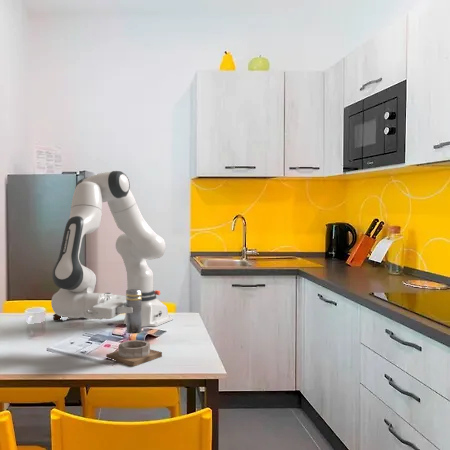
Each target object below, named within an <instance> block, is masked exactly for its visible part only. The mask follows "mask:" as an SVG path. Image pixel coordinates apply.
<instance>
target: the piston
mask: <svg viewBox="0 0 450 450" xmlns="http://www.w3.org/2000/svg"><path fill="white" fill-rule="evenodd" d="M125 296H126V307H133V308H134V312H132V313H125V315H126V320H127V325H126V333H127V334H131V335H132V334H140V333H142V331H143V330H142V329H143V328H142V290H141V289H129V290H126V291H125Z"/></svg>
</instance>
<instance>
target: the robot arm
mask: <svg viewBox="0 0 450 450" xmlns="http://www.w3.org/2000/svg"><path fill="white" fill-rule="evenodd" d="M130 188H131V185H130V180H129V177H128V176H127V174H125V173H124V172H123V171H120V170H112V171H109V172H101V173H100V172H99V173H97V174H94V175H90V176H89V177H83V178H81V179H80V180H78V181H77V182H76V184H75V189H74V192H73V195H72V199H71V205H70V206H71V207H70V215H69V218H68V220H67V222H66V224H65V228H64V232H63V236H62V242H61V245H60V251H59V255H58V258H57V260H56V262H55V265H53V266H54V267H53V269H52V272H51V274H52V275H51V276H52V281H53V283H54V285H55V286H56V287H58V288H59V290H58V291H57V292H55V293H53V295H52V297H51V300H50V301H51V308H52V311H53V312H54V314H57V315H59V316H62V317H68V318H72V319H73V318H74V319H79V318H80V317H84V319H85V318H87V319H86V320H103V319H104V320H110V319H114V318H115V317H117V316H119V315H122V314H123V315H124V314H125V315H124V319H123V325H124V324H127V320H126V313H132V312H134V308H133V307H126V294H125V295H123V294H114V293H113V292H103V293H102V292H95V289H96V287H97V282H98V281H97V275H96V273H95V272H94V271H93V270H91V269H90V268H88V267H87V266H84V265H83V264H82V263H81V261H80V253H81V247H82V242H83V238H84V236H85V235H88V234H89V235H90V234H93V233H94V232H96V231H97V230H98V229H99V228H100V227H101V222H102V217H103V215H102V213H103V203H107V205H108V208H109V211H110V213H111V215H112V217H113V220H114V222H115V223H116V226H117V228H118V229H119V230H120V231H121V232H123V234H120V235H119V236H118V237H117V238H116V241H115V249H116V252H117V253H118V254H119V255H120V257H121V258H122V260H123V264H124V266H125V270H126V271H125V272H126V281H127V282H126V283H127V284H126V285H127V286H126V287H127V290H129V289H141V290H142V327H159V326H160V325H162V324H166V323H168V322H170V321H173V320H174V317H173V316H171V315H169V314H168V312H169V311H168V307H167V305H166V304H164V303H163V302H162V301H161V300H159V299H158V298H157V296H160V295H161V290H158V289H156V290H154V272H153V270H152V269H151V267H150V266H149V265H148V263H147V261H149V260H150V261H152V260H157V259H160V258H161V257H163V256H164V254H165V252H166V249H167V248H166V247H167V246H166V245H167V244H166V241H165V240H164V238H163V237H162V236H160V235H159V234H158V233H156V232H155V231H154V229H152V227H151V226H150V225H149V224H148V222H147V221H146V220H145V219H144V216H143V214H142V213H141V210H140V208H139V205H138V203H137V201H136V199H135V196H134V194H133V192H132V191H131V189H130ZM80 319H81V318H80Z"/></svg>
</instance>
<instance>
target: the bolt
mask: <svg viewBox="0 0 450 450" xmlns="http://www.w3.org/2000/svg"><path fill="white" fill-rule="evenodd" d="M52 317H53V318H52V319H53V321H55V322H56V321H61V320H60V318H61V316H59V315H57V314H56V313H54V314H53V315H52ZM83 318H84V317H80V319H83ZM84 320H88V319H87V318H84Z"/></svg>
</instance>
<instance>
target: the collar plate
mask: <svg viewBox="0 0 450 450" xmlns="http://www.w3.org/2000/svg"><path fill="white" fill-rule="evenodd" d="M106 357H109V358H111V359H114V360H116V361H117V362H116V361H115V362H116V363H119V364H124V365H127V366H130V367H134V368H135V367H136V366H139V365H142V364H145V363H148V362H151V361H153V360H157V359H158V358H162V357H163V352H161V351H158V350H154V349H152V348H151V344H150V342H149V341H147V340H146V341H145V340H139V339H137V340H136V339H132V340H127V341H123V342H120V343H119V344H118V350H115V351H113V352H109V353H107V354H106Z"/></svg>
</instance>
